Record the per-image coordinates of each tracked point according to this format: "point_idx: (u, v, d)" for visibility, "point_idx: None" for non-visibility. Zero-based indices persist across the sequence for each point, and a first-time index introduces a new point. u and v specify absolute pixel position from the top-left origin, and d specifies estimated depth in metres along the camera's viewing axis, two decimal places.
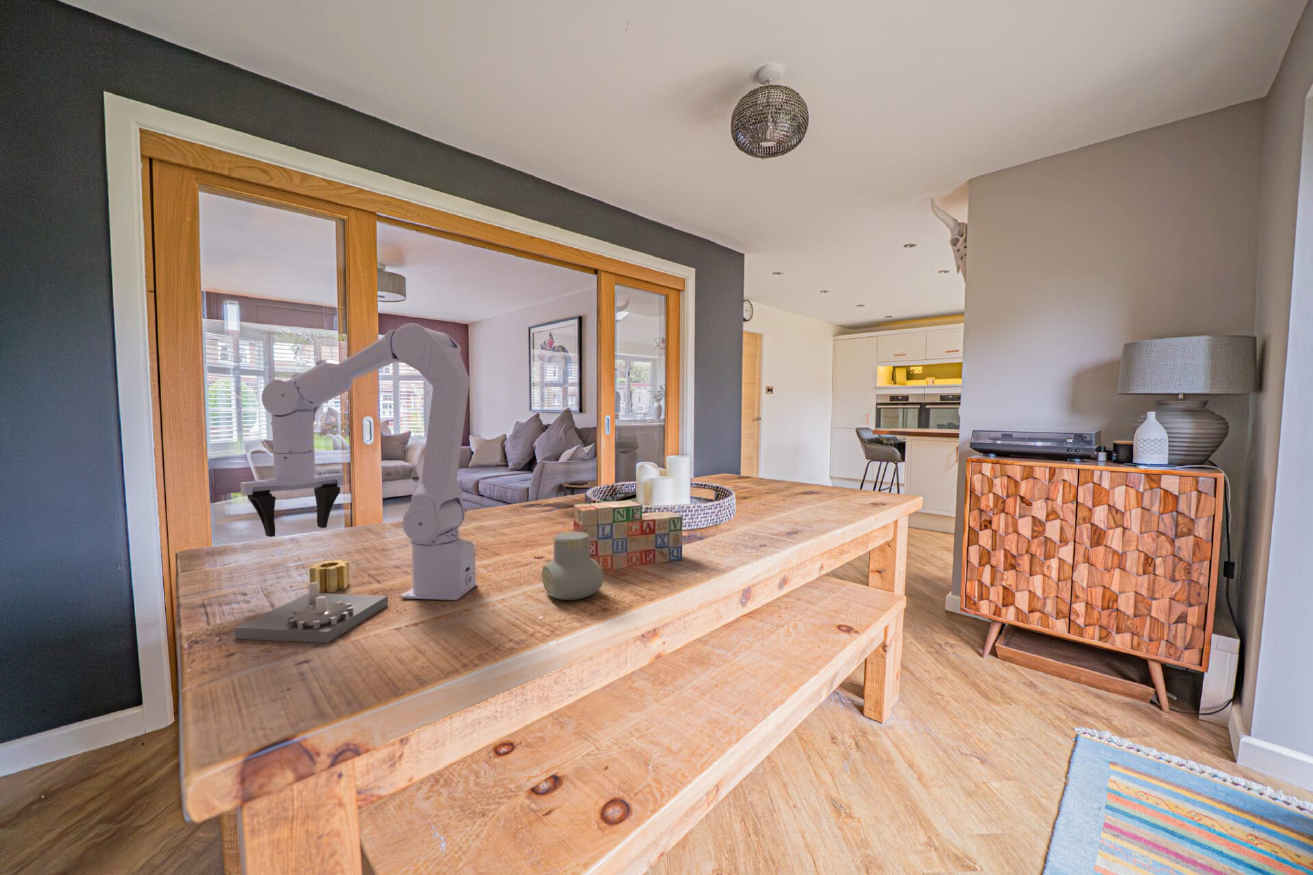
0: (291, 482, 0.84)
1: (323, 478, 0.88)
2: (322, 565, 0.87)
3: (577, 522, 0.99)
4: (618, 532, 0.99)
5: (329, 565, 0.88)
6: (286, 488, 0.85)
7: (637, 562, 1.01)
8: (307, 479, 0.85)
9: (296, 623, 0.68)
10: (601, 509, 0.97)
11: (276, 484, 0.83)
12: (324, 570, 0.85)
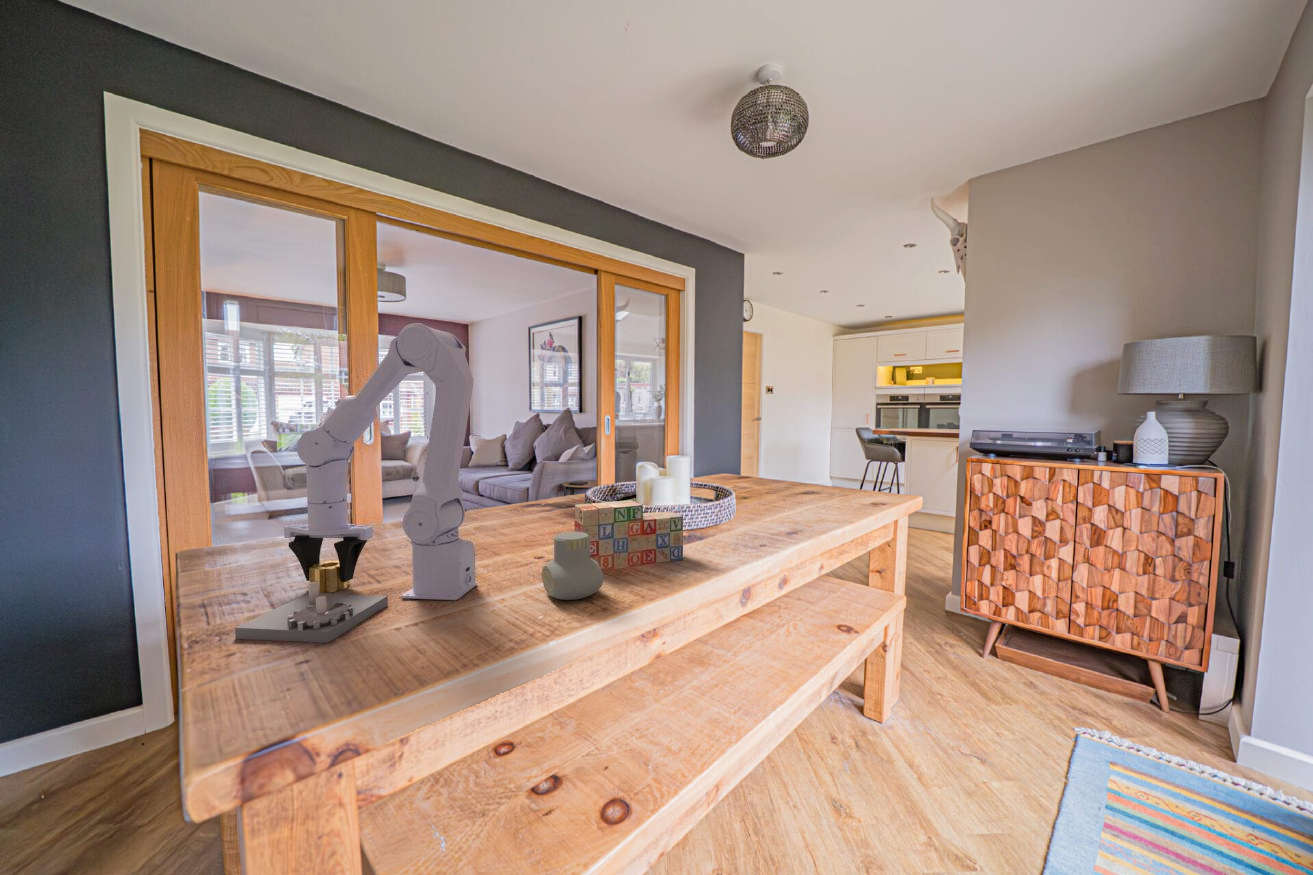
0: (308, 532, 0.84)
1: (340, 531, 0.84)
2: (322, 565, 0.87)
3: (578, 522, 0.99)
4: (619, 532, 0.99)
5: (329, 565, 0.88)
6: (319, 536, 0.86)
7: (638, 562, 1.01)
8: (319, 531, 0.83)
9: (296, 623, 0.68)
10: (602, 509, 0.97)
11: (300, 532, 0.85)
12: (324, 570, 0.85)
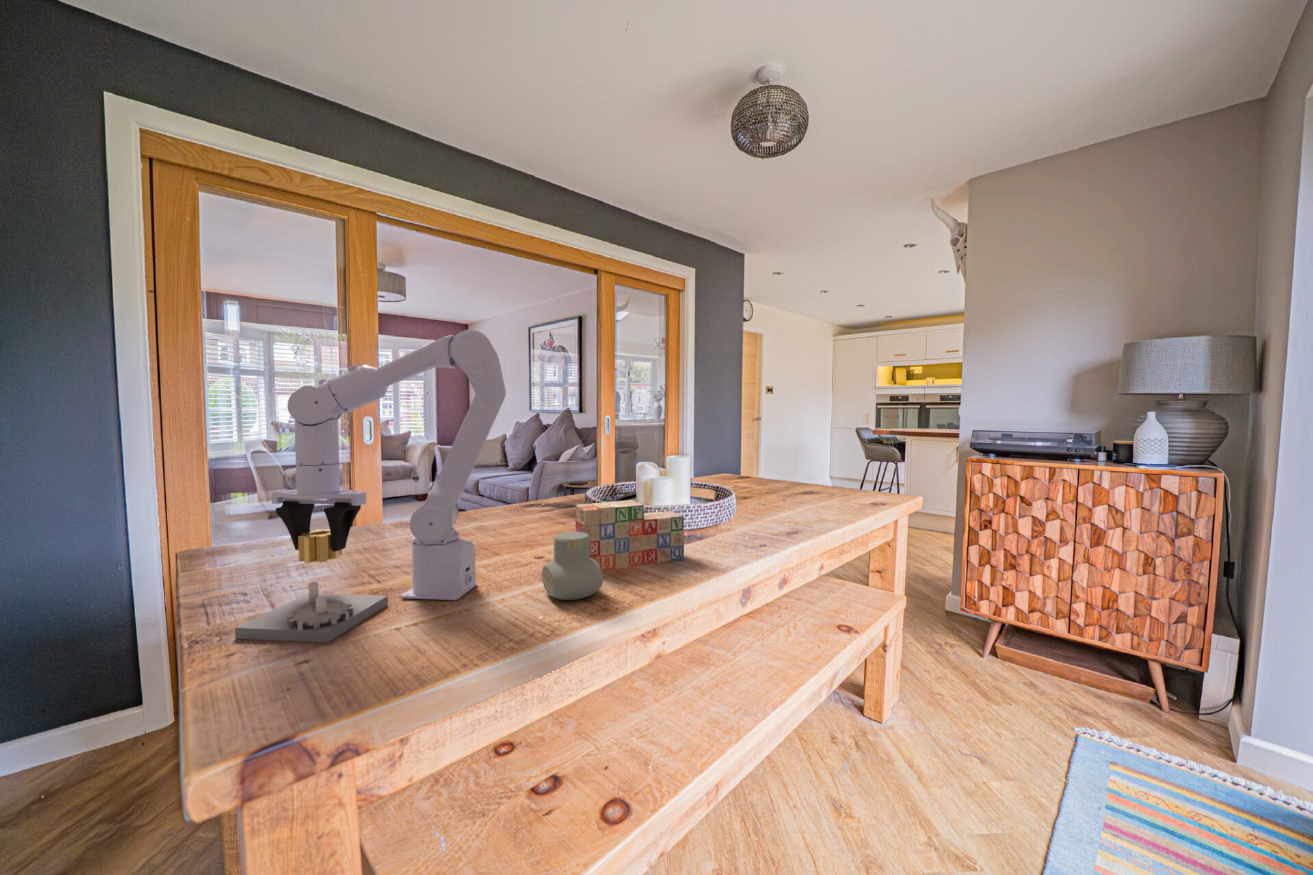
0: (296, 496, 0.78)
1: (330, 496, 0.78)
2: (312, 533, 0.81)
3: (579, 522, 0.99)
4: (620, 532, 0.99)
5: (320, 534, 0.82)
6: (309, 501, 0.80)
7: (639, 562, 1.01)
8: (308, 495, 0.77)
9: (296, 623, 0.68)
10: (603, 509, 0.97)
11: (288, 496, 0.78)
12: (314, 538, 0.78)
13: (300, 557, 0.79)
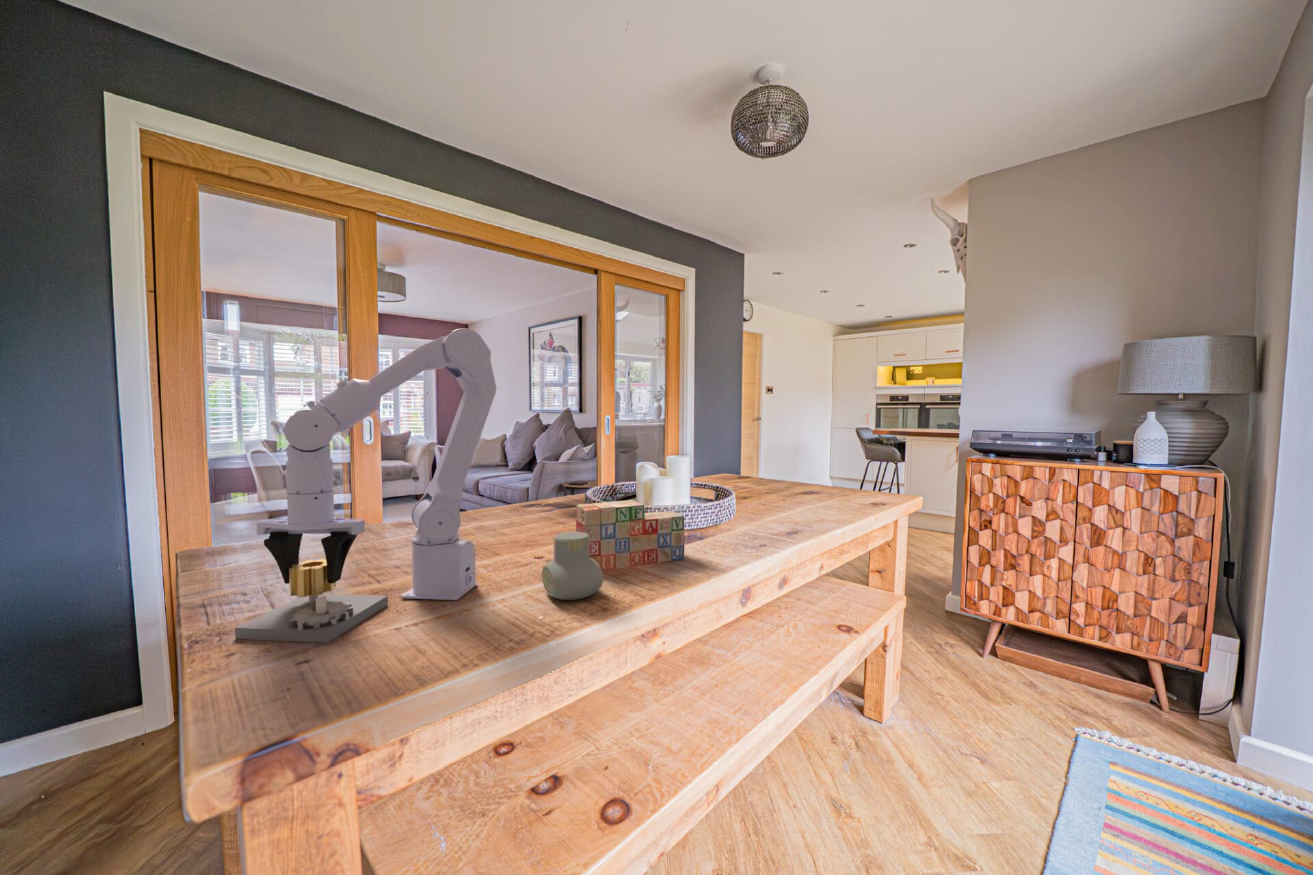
0: (289, 527, 0.73)
1: (328, 525, 0.74)
2: (303, 565, 0.76)
3: (580, 522, 0.99)
4: (621, 532, 0.99)
5: (311, 565, 0.77)
6: (300, 531, 0.75)
7: (640, 562, 1.01)
8: (303, 525, 0.73)
9: (296, 623, 0.68)
10: (604, 509, 0.97)
11: (279, 527, 0.73)
12: (308, 570, 0.74)
13: (292, 591, 0.74)
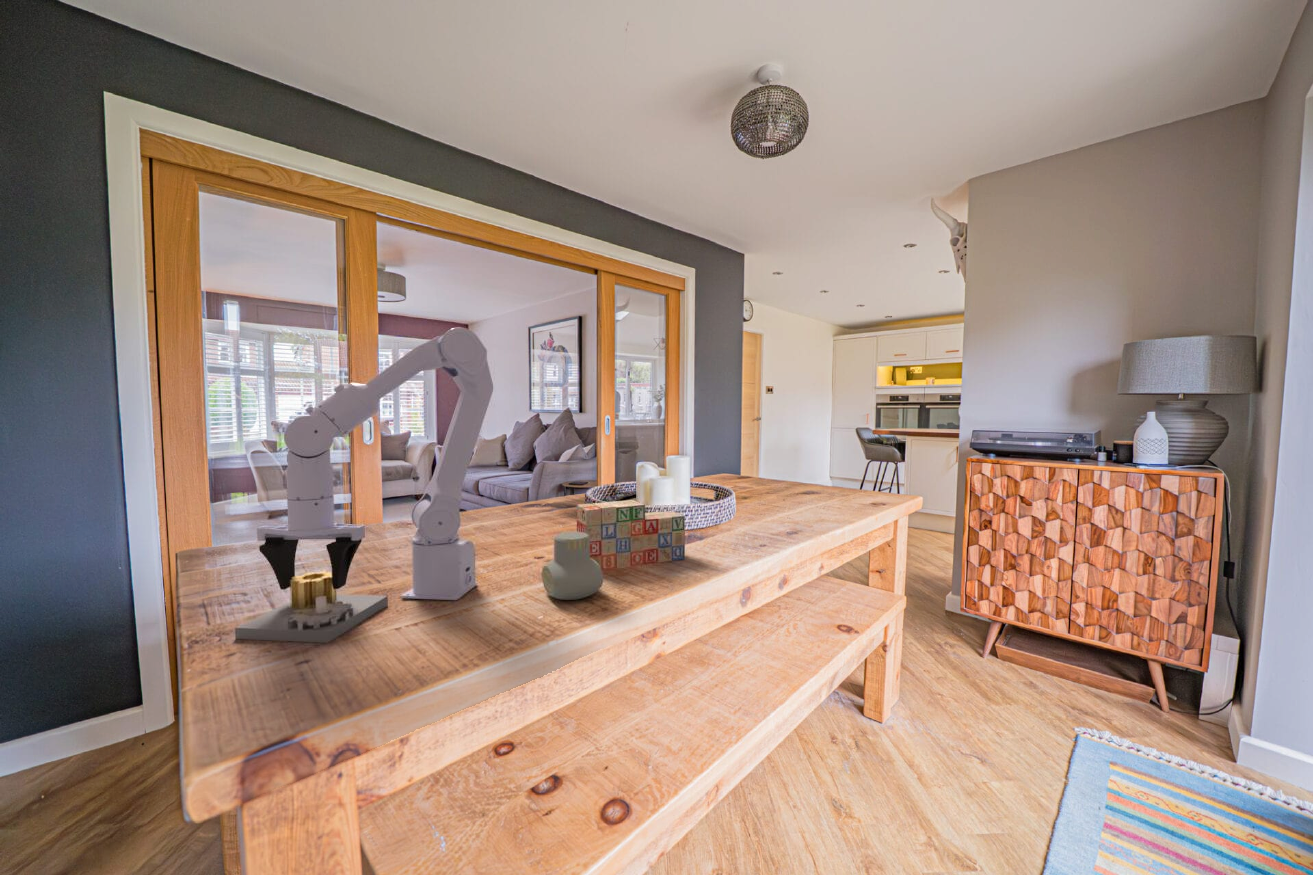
0: (289, 533, 0.73)
1: (328, 531, 0.74)
2: (304, 577, 0.76)
3: (580, 522, 0.99)
4: (622, 532, 0.99)
5: (312, 577, 0.77)
6: (300, 537, 0.75)
7: (640, 561, 1.01)
8: (304, 531, 0.73)
9: (296, 623, 0.68)
10: (605, 509, 0.97)
11: (279, 533, 0.74)
12: (309, 583, 0.74)
13: (293, 604, 0.74)
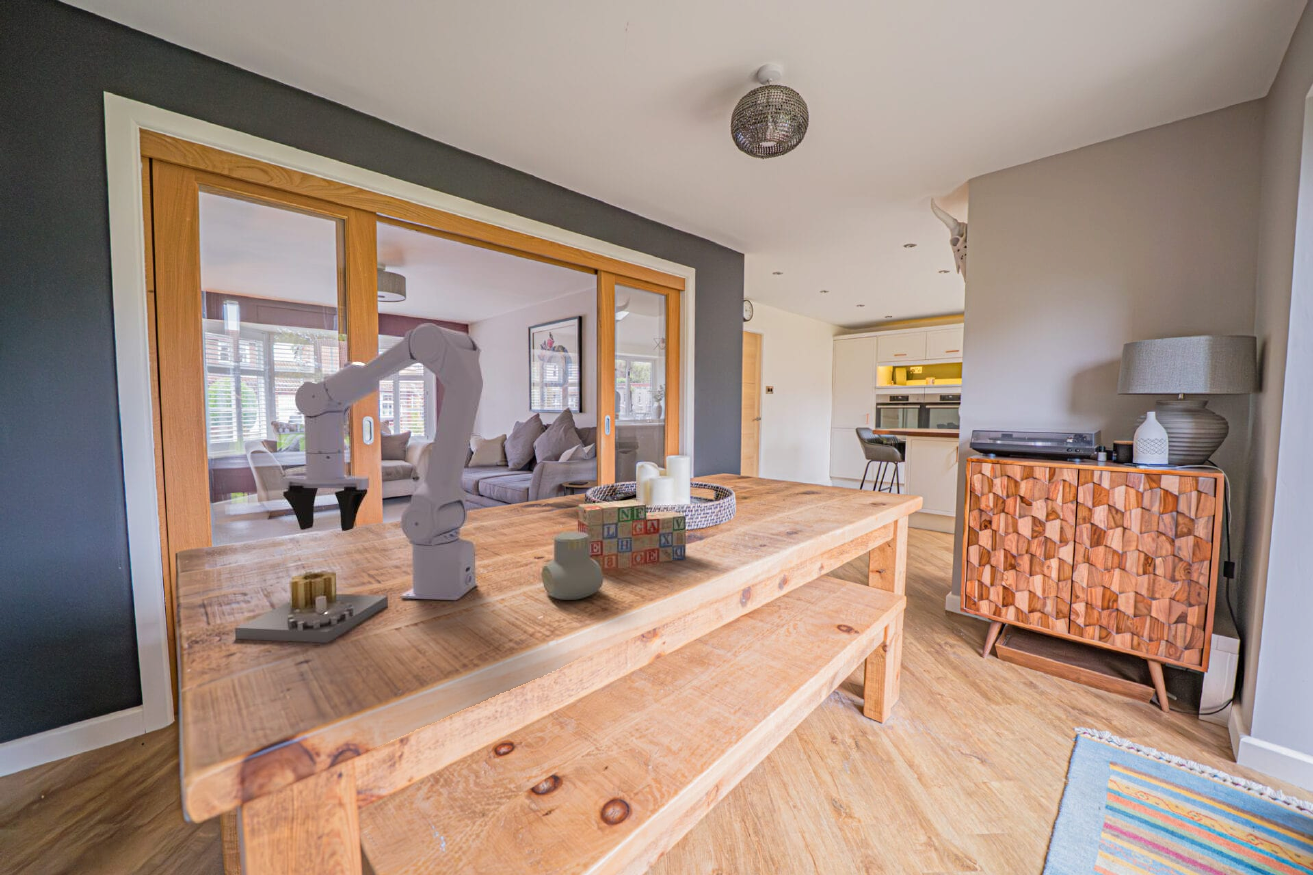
0: (306, 481, 0.86)
1: (337, 481, 0.87)
2: (304, 577, 0.76)
3: (582, 522, 0.99)
4: (623, 532, 0.99)
5: (312, 577, 0.77)
6: (316, 486, 0.89)
7: (641, 561, 1.01)
8: (317, 480, 0.86)
9: (296, 623, 0.68)
10: (606, 509, 0.97)
11: (299, 481, 0.87)
12: (309, 583, 0.74)
13: (293, 604, 0.74)
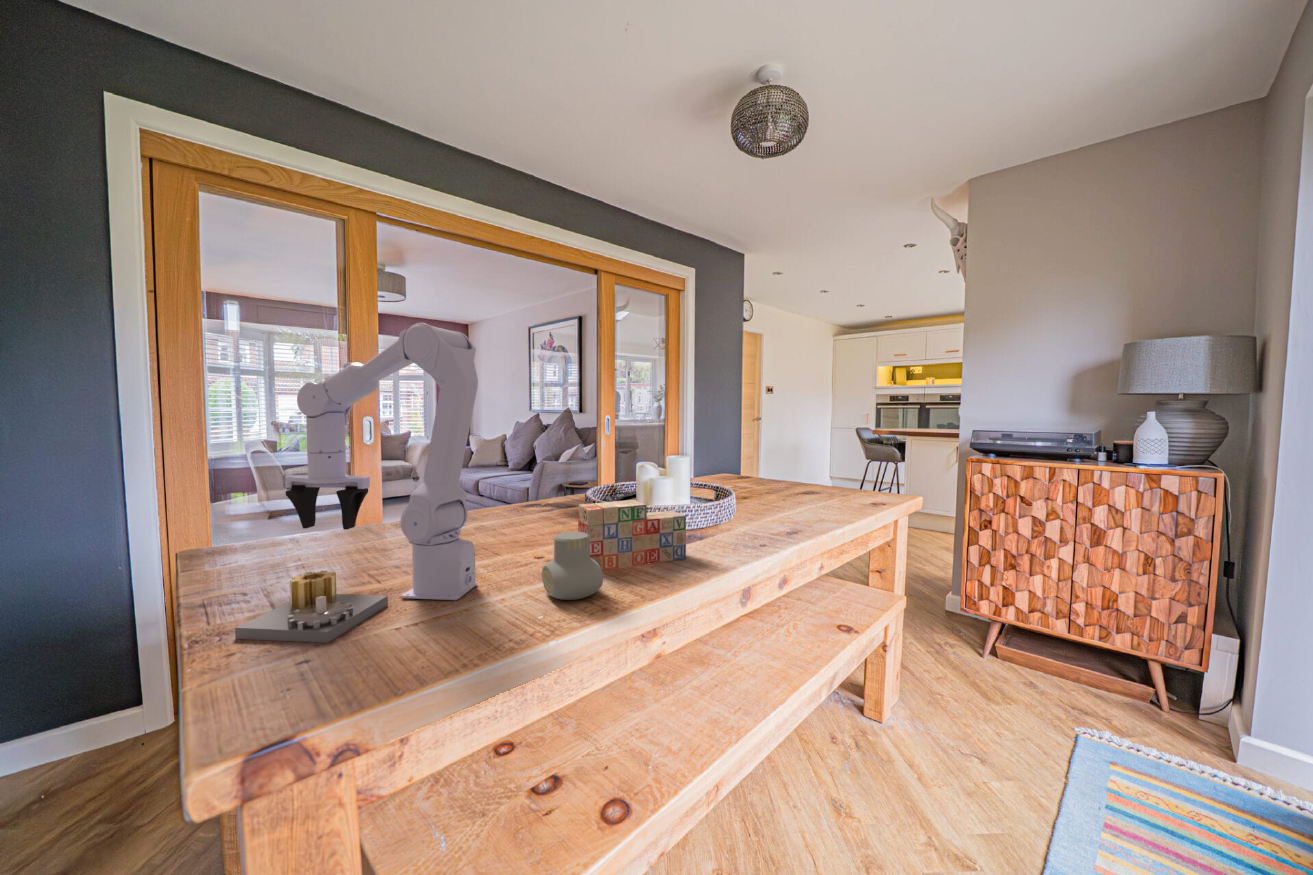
0: (308, 480, 0.88)
1: (338, 480, 0.88)
2: (304, 577, 0.76)
3: (582, 522, 0.99)
4: (623, 532, 0.99)
5: (312, 577, 0.77)
6: (318, 485, 0.90)
7: (642, 561, 1.01)
8: (319, 479, 0.87)
9: (296, 623, 0.68)
10: (607, 509, 0.97)
11: (301, 480, 0.89)
12: (309, 583, 0.74)
13: (293, 604, 0.74)
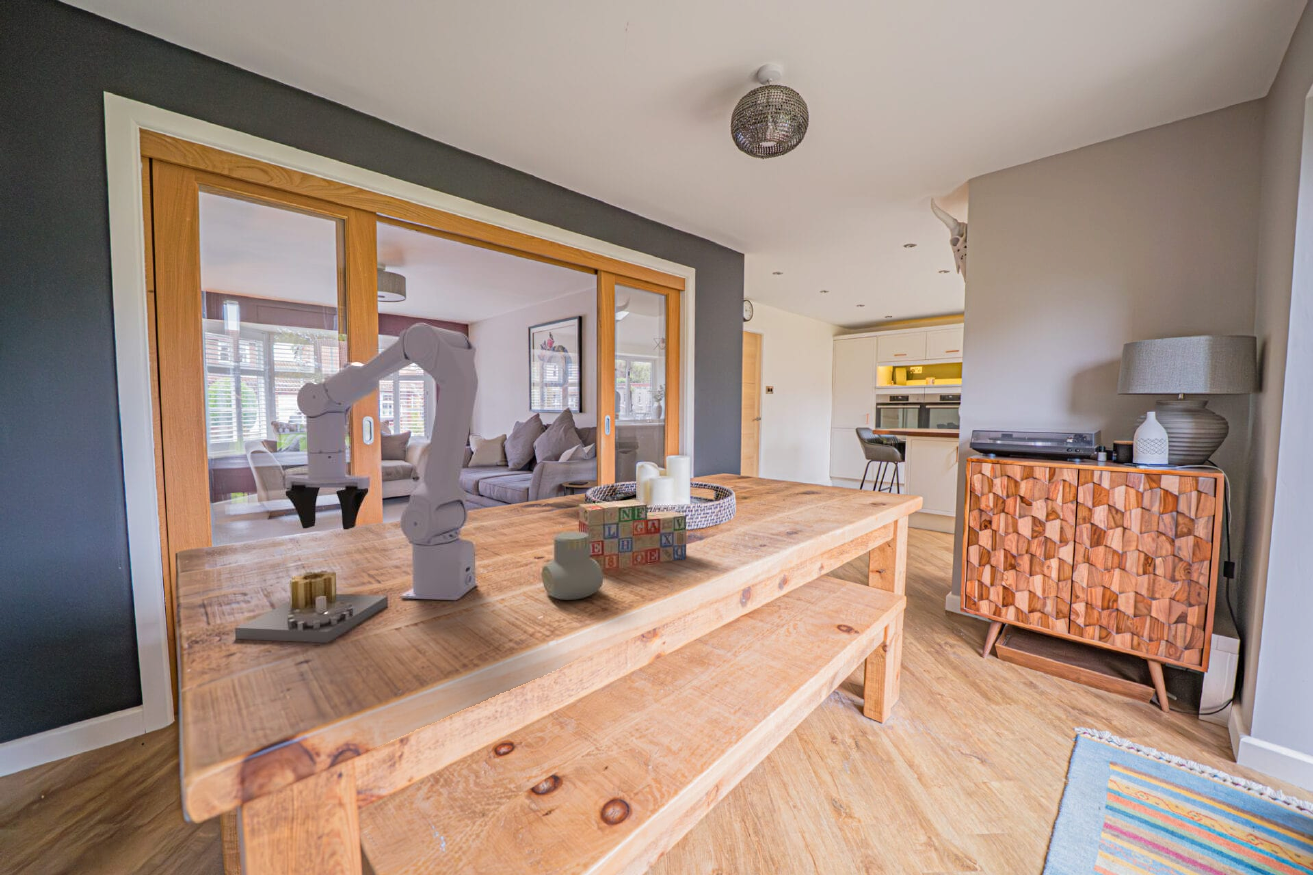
0: (308, 480, 0.88)
1: (338, 480, 0.88)
2: (304, 577, 0.76)
3: (583, 522, 0.99)
4: (624, 531, 0.99)
5: (312, 577, 0.77)
6: (318, 485, 0.90)
7: (642, 561, 1.01)
8: (319, 479, 0.87)
9: (296, 623, 0.68)
10: (607, 509, 0.98)
11: (301, 480, 0.89)
12: (309, 583, 0.74)
13: (293, 604, 0.74)
